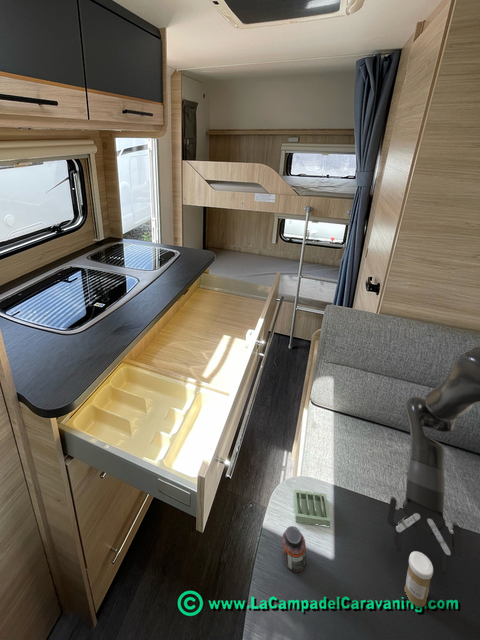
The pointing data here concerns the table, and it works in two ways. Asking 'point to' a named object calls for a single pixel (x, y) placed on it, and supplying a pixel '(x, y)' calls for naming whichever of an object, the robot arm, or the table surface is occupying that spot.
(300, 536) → the supplement bottle
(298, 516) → the drainer
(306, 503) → the drainer rack
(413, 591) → the sprinkles bottle
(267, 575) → the table surface
